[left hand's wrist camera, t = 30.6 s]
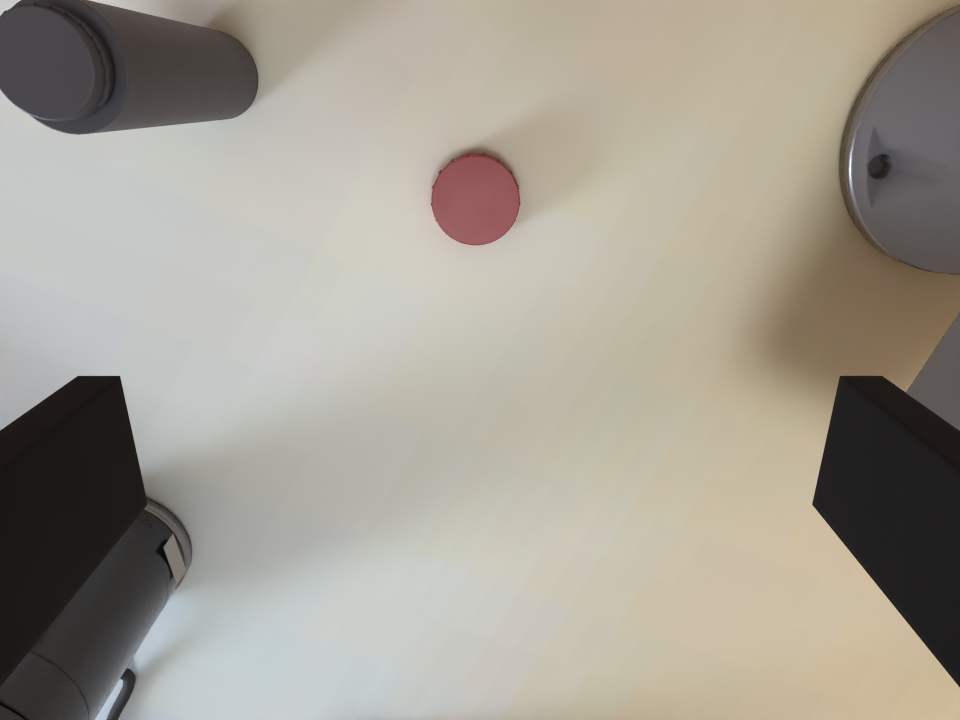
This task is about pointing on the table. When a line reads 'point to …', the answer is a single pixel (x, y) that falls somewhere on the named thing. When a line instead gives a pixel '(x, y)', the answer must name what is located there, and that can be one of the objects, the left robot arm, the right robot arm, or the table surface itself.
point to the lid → (475, 199)
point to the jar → (118, 68)
